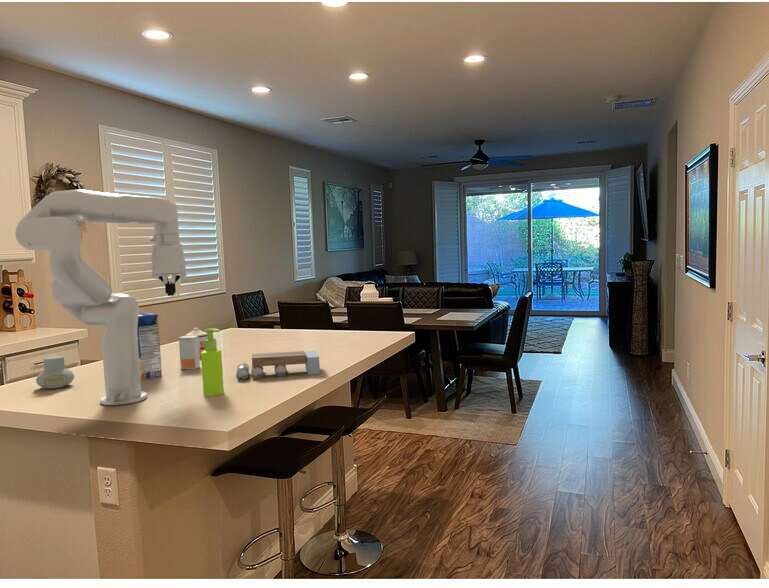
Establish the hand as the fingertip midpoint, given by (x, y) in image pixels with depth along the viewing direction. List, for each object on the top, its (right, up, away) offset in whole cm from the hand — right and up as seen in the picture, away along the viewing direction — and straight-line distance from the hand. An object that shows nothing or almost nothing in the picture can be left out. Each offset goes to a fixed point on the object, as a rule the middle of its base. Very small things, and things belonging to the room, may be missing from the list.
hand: (170, 295), depth 185 cm
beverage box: (-14, -29, +13) cm, 35 cm away
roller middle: (+25, -26, +6) cm, 37 cm away
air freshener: (-39, -31, +1) cm, 49 cm away
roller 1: (+21, -25, +5) cm, 33 cm away
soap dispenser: (+19, -30, -16) cm, 39 cm away
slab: (+34, -24, +8) cm, 42 cm away
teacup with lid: (-7, -26, +52) cm, 58 cm away
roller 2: (+34, -24, +8) cm, 42 cm away
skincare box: (-2, -28, +24) cm, 37 cm away
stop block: (+46, -27, +11) cm, 54 cm away
